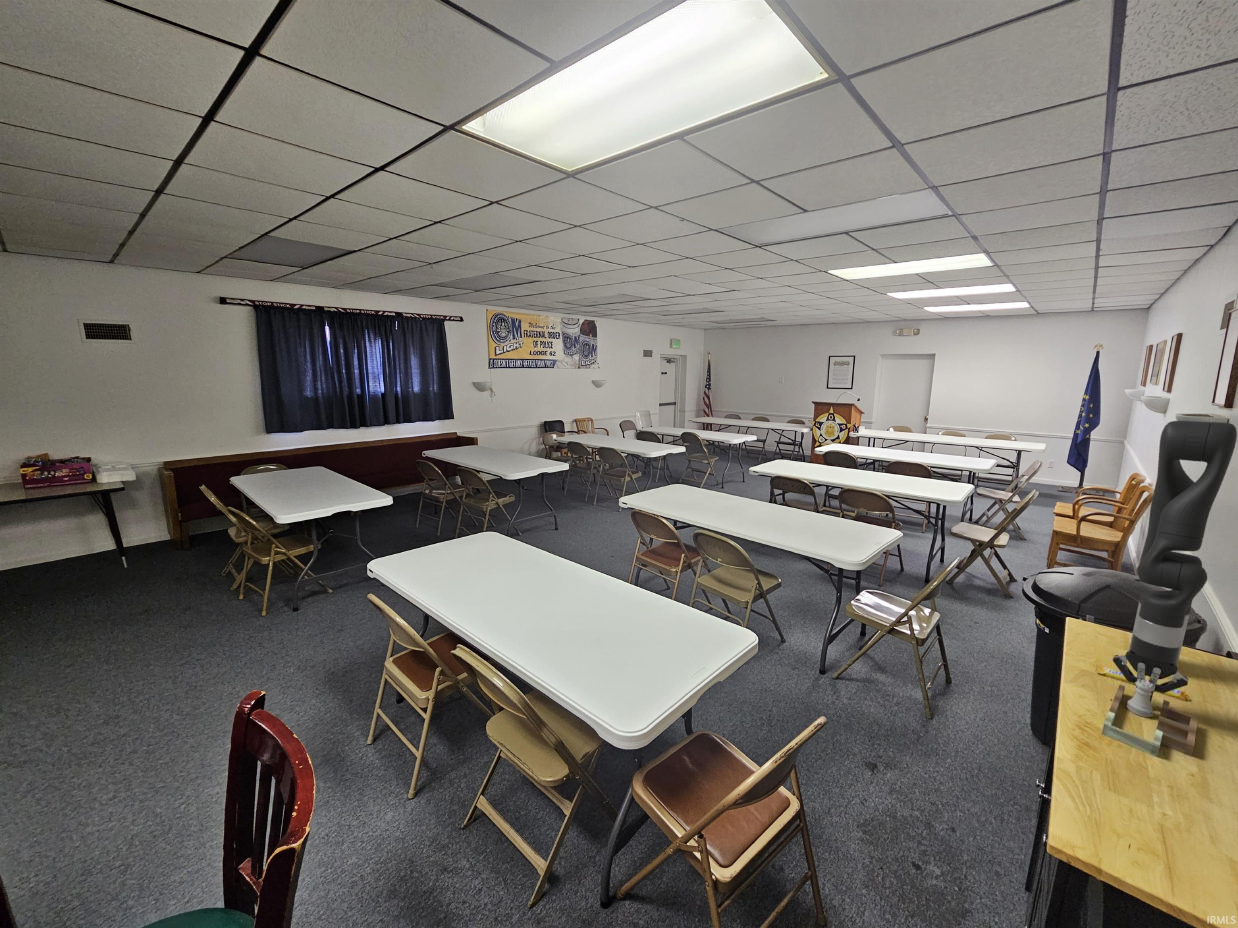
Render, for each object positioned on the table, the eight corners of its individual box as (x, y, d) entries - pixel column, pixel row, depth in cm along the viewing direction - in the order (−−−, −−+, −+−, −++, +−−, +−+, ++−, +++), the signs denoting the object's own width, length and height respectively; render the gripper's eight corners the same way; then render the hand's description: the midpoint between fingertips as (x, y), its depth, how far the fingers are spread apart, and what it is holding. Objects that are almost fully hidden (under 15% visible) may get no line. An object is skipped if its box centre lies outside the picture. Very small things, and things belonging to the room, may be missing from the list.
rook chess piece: (1137, 704, 118) (1144, 676, 116) (1158, 717, 113) (1165, 688, 112) (1120, 705, 117) (1126, 676, 116) (1140, 718, 113) (1147, 688, 112)
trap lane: (1118, 692, 122) (1119, 684, 122) (1196, 720, 112) (1198, 711, 112) (1101, 733, 108) (1103, 724, 108) (1189, 770, 98) (1192, 760, 98)
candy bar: (1187, 696, 121) (1188, 690, 121) (1189, 704, 118) (1190, 698, 118) (1094, 668, 133) (1096, 662, 133) (1094, 674, 130) (1095, 668, 130)
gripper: (1200, 644, 111) (1184, 709, 115) (1119, 621, 122) (1107, 681, 125) (1198, 655, 107) (1181, 723, 110) (1114, 631, 117) (1101, 693, 120)
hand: (1141, 700), depth 117 cm, fingers closed
